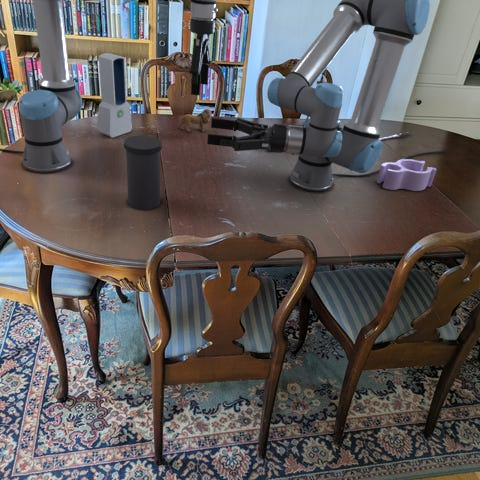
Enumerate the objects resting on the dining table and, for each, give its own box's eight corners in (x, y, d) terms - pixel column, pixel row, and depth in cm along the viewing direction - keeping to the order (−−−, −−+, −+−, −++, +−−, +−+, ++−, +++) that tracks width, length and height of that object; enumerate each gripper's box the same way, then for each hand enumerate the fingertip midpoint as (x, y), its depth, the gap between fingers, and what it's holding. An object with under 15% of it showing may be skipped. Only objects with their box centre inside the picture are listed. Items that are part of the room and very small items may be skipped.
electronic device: (110, 138, 183) (105, 58, 167) (97, 133, 186) (90, 54, 170) (132, 130, 192) (130, 54, 176) (119, 126, 195) (115, 50, 179)
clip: (389, 193, 165) (394, 175, 161) (370, 177, 175) (375, 160, 171) (435, 189, 171) (441, 172, 167) (414, 174, 181) (420, 158, 177)
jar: (150, 212, 139) (150, 152, 128) (122, 205, 141) (119, 145, 131) (165, 199, 147) (165, 141, 136) (138, 192, 149) (136, 135, 138)
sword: (406, 132, 223) (406, 130, 222) (411, 134, 221) (412, 132, 220) (362, 144, 207) (363, 141, 206) (368, 146, 205) (368, 143, 204)
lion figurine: (208, 127, 204) (210, 107, 199) (212, 131, 200) (213, 111, 195) (176, 128, 199) (176, 107, 195) (179, 132, 195) (179, 111, 190)
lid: (150, 157, 129) (150, 152, 128) (116, 149, 131) (116, 144, 130) (168, 145, 137) (168, 140, 136) (136, 138, 140) (135, 132, 139)
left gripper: (207, 26, 131) (203, 101, 142) (221, 15, 152) (217, 81, 163) (181, 22, 131) (179, 98, 143) (198, 12, 152) (196, 78, 164)
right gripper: (285, 168, 122) (204, 160, 121) (280, 136, 143) (211, 129, 142) (290, 141, 118) (206, 132, 117) (284, 112, 139) (213, 104, 138)
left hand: (199, 89), depth 153 cm, fingers open, 13 cm apart
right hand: (209, 130), depth 130 cm, fingers open, 13 cm apart
